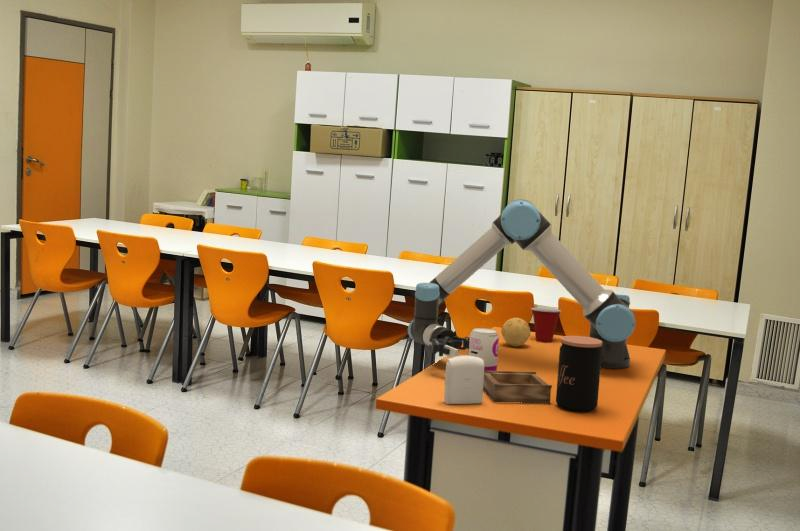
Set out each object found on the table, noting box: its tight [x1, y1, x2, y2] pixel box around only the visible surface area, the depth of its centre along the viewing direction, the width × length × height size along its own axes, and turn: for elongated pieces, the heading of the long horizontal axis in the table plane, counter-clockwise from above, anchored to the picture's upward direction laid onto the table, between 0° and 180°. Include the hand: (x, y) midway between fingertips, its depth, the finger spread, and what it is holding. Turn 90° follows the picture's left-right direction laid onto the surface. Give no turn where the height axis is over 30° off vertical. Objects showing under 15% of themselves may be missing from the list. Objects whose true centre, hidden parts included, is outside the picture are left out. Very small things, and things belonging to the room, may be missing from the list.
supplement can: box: [468, 327, 500, 371], centre depth 246 cm, size 8×8×15 cm
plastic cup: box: [530, 307, 562, 343], centre depth 313 cm, size 11×11×12 cm
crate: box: [483, 370, 553, 405], centre depth 233 cm, size 15×15×5 cm
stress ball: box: [501, 317, 531, 348], centre depth 301 cm, size 10×10×10 cm
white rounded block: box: [443, 355, 484, 405], centre depth 223 cm, size 10×4×12 cm, turn 105°
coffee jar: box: [555, 335, 603, 414], centre depth 224 cm, size 11×11×18 cm
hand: (477, 353), depth 248 cm, fingers open, 13 cm apart
